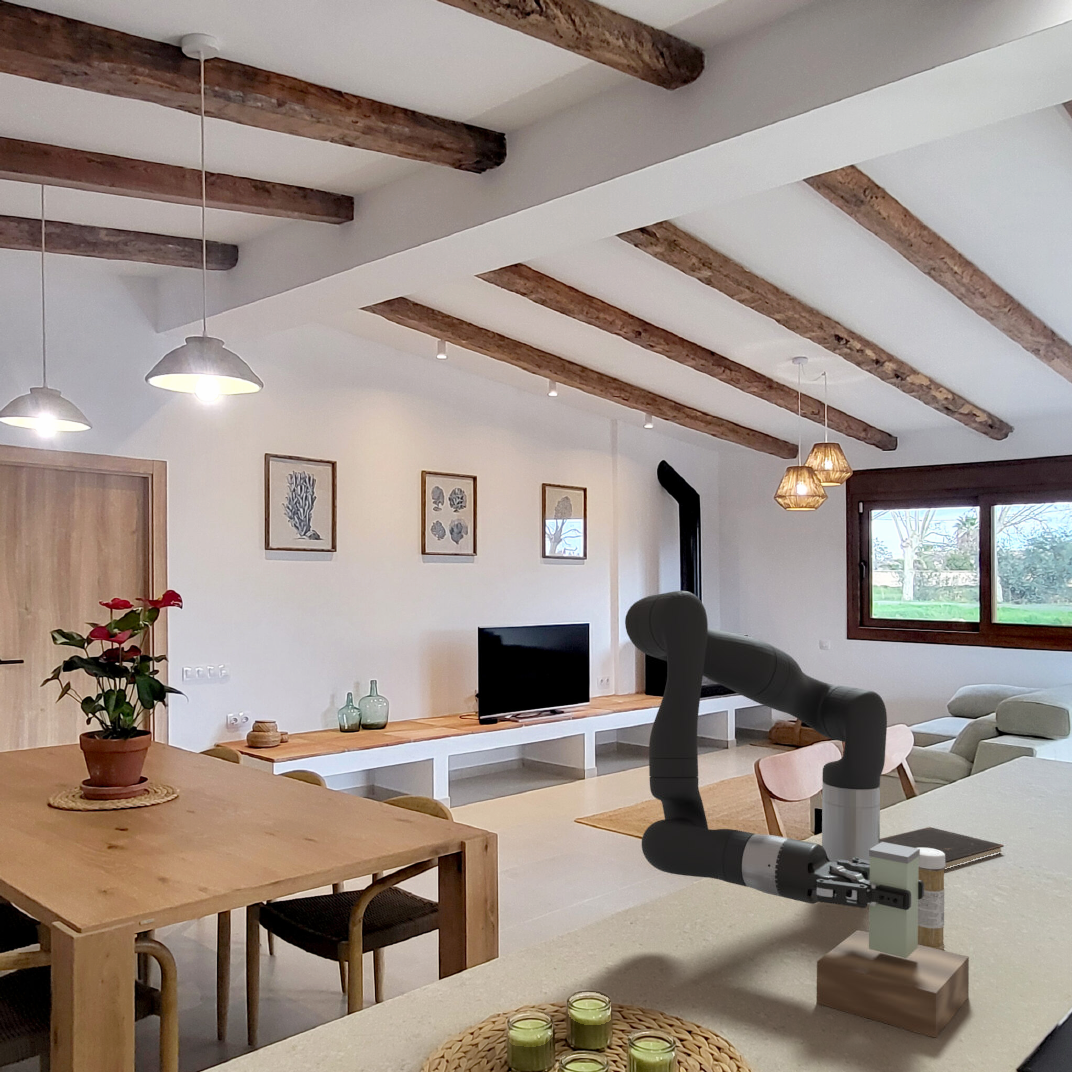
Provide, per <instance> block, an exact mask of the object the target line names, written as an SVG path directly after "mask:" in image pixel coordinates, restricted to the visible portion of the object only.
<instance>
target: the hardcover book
mask: <svg viewBox="0 0 1072 1072" xmlns="http://www.w3.org/2000/svg"><path fill="white" fill-rule="evenodd" d="M881 842H886V843H891V844H896V845H902V846H907V847H912V848H932V849H937V850H940V851H942V852H943V853H944V854H945V867H944V868H947V867H950V866H953V865H957V864H960V863H964V862H967V861H971V860H973V859H976V858H980V857H984V856H987V855H991V854H994V853H998V852H1001V853H1002V848H1003V847H1004V844H1001V843H997V842H994V841H988V840H985V839H980V838H975V837H972V836H967V835H964V834H960V833H955V832H953V831H952V832H951V831H949V830H948V831H947V830H944V829H939V828H935V827H930V826H928V827H924V828H920V829H915V830H912V831H908V832H903V833H899V834H896V835H890V836H885V837H882V838H881V837H880V843H881Z"/></svg>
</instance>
